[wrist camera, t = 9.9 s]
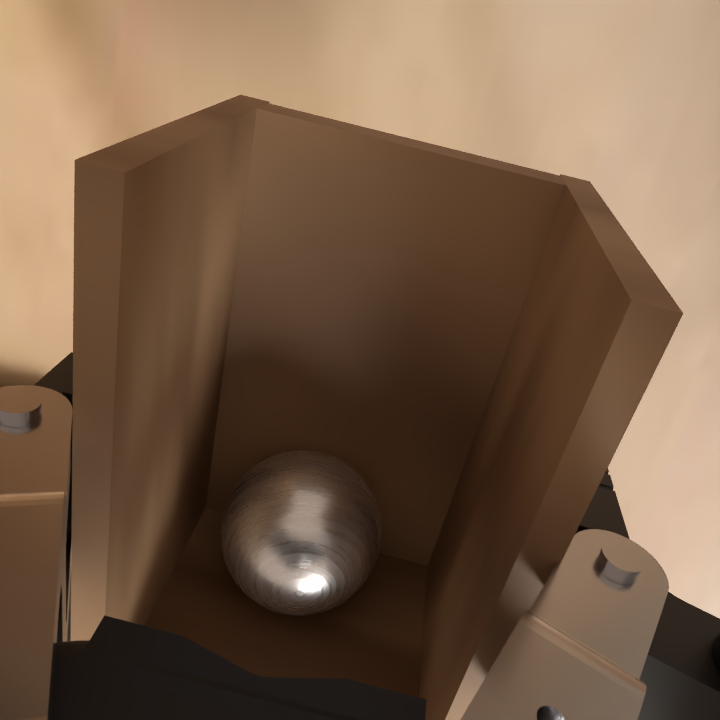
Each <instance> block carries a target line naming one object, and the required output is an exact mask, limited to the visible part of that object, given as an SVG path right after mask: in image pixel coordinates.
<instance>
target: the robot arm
mask: <svg viewBox="0 0 720 720" xmlns="http://www.w3.org/2000/svg"><path fill="white" fill-rule="evenodd" d="M72 424H73V353H72V352H71V353H70V354H69V355H68V356H67V357H65V358H64V359H63V360H62V361H61V362H60V363H59V364H58V365H56V366H55V367H54V368H53V369H52V370H51V371H50V372H48V373H47V374H46V375H45V376H44V377H43V378H42V379H41V380H39V381H38V382H37V383H36V384H35V385H13V386H5V387H1V388H0V720H425V714H426V700H425V699H421V698H418V697H414V696H410V695H406V694H402V693H399V692H395V691H391V690H387V689H383V688H380V687H376V686H372V685H368V684H364V683H360V682H357V681H353V680H349V679H329V678H282V677H261V676H258V675H255V674H252V673H250V672H248V671H246V670H245V669H243V668H241V667H239V666H237V665H235V664H234V663H232V662H230V661H228V660H226V659H224V658H223V657H221V656H219V655H217V654H215V653H213V652H212V651H210V650H208V649H206V648H204V647H202V646H201V645H199V644H197V643H195V642H193V641H191V640H189V639H188V638H186V637H184V636H181V635H178V634H174V633H170V632H166V631H162V630H158V629H155V628H151V627H147V626H143V625H139V624H136V623H132V622H128V621H124V620H120V619H117V618H113V617H109V616H105V615H104V617H103V619H102V620H101V622H100V624H99V625H98V627H97V629H96V631H95V632H94V634H93V636H92V637H91V639H90V640H78V641H67V634H68V616H69V597H70V579H71V538H72ZM608 472H609V471H608V468H607V470H606V472H605V474H604V476H603V478H602V480H601V482H600V484H599V486H598V488H597V490H596V492H595V494H594V496H593V498H592V500H591V502H590V504H589V507H588V509H587V511H586V513H585V515H584V517H583V519H582V521H581V523H580V525H579V527H578V529H577V531H576V533H575V535H574V537H573V539H572V541H571V543H570V545H569V547H568V549H567V551H566V553H565V556H564V558H563V560H562V562H560V561H558V562H557V564H556V566H555V567H554V569H553V571H552V572H551V574H550V576H549V577H548V579H547V581H546V583H545V584H544V586H543V588H542V589H541V591H540V593H539V595H538V596H537V598H536V600H535V601H534V603H533V605H532V607H531V608H530V610H529V611H528V610H526V611H525V612H524V614H523V615H522V617H521V619H520V620H519V622H518V624H517V625H516V627H515V629H514V630H513V632H512V634H511V635H510V637H509V639H508V640H507V642H506V644H505V645H504V647H503V649H502V650H501V652H500V654H499V656H498V657H497V659H496V661H495V662H494V664H493V666H492V667H491V669H490V671H489V672H488V674H487V676H486V677H485V679H484V681H483V683H482V684H481V686H480V688H479V689H478V691H477V693H476V694H475V696H474V698H473V699H472V701H471V703H470V704H469V706H468V708H467V709H466V711H465V713H464V715H463V716H462V718H461V720H720V619H719V618H717V617H715V616H713V615H711V614H709V613H707V612H705V611H703V610H701V609H699V608H697V607H695V606H693V605H690V604H688V603H686V602H685V601H683V600H681V599H679V598H677V597H676V596H674V595H673V594H671V593H669V592H668V589H669V585H668V579H667V576H666V574H665V572H664V570H663V568H662V567H661V566H660V564H659V563H658V562H657V561H656V559H655V558H654V557H653V556H652V555H651V554H650V553H648V552H647V551H646V550H645V549H644V548H642V547H641V546H639V545H638V544H637V543H635V542H633V541H632V540H630V539H629V536H628V533H627V529H626V526H625V523H624V520H623V516H622V513H621V510H620V507H619V503H618V500H617V497H616V493H615V491H613V484H612V480H611V477H610V475H608Z"/></svg>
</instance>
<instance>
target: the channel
mask: <svg viewBox="0 0 720 720" xmlns="http://www.w3.org/2000/svg"><path fill="white" fill-rule="evenodd" d="M682 315H683V312H682V311H681V310H680V308H679V307H678V305H677V304H676V303H675V301H674V300H673V298H672V297H671V295H670V294H669V293H668V291H667V290H666V288H665V287H664V286H663V284H662V283H661V281H660V280H659V279H658V277H657V276H656V274H655V273H654V271H653V270H652V269H651V267H650V266H649V264H648V263H647V262H646V260H645V259H644V257H643V256H642V255H641V253H640V252H639V250H638V249H637V247H636V246H635V245H634V243H633V242H632V240H631V239H630V238H629V236H628V235H627V233H626V232H625V230H624V229H623V228H622V226H621V225H620V223H619V222H618V221H617V219H616V218H615V216H614V215H613V214H612V212H611V211H610V209H609V208H608V206H607V205H606V204H605V202H604V201H603V199H602V198H601V197H600V195H599V194H598V192H597V191H596V190H595V188H594V187H593V185H592V184H591V182H589V181H585V180H581V179H577V178H573V177H569V176H565V175H561V174H560V176H558V175H554V174H550V173H546V172H542V171H538V170H534V169H530V168H526V167H522V166H518V165H514V164H510V163H506V162H502V161H498V160H494V159H490V158H486V157H482V156H478V155H474V154H470V153H466V152H462V151H458V150H454V149H450V148H446V147H441V146H437V145H433V144H429V143H425V142H421V141H417V140H413V139H409V138H405V137H401V136H397V135H393V134H389V133H385V132H381V131H377V130H373V129H369V128H365V127H361V126H357V125H353V124H349V123H345V122H341V121H337V120H333V119H329V118H325V117H321V116H317V115H313V114H309V113H305V112H301V111H297V110H293V109H289V108H285V107H281V106H277V105H273V104H269V102H267V101H263V100H259V99H255V98H251V97H247V96H243V95H239V96H236V97H234V98H231V99H229V100H226V101H224V102H221V103H218V104H216V105H213V106H211V107H208V108H206V109H203V110H201V111H198V112H196V113H193V114H190V115H188V116H185V117H183V118H180V119H178V120H175V121H173V122H170V123H168V124H165V125H163V126H160V127H157V128H155V129H152V130H150V131H147V132H145V133H142V134H140V135H137V136H135V137H132V138H129V139H127V140H124V141H122V142H119V143H117V144H114V145H112V146H109V147H107V148H104V149H102V150H99V151H96V152H94V153H91V154H89V155H86V156H84V157H81V158H79V159H76V160H75V197H74V310H73V424H72V538H71V641H78V640H90V639H91V637H92V636H93V634H94V632H95V631H96V629H97V627H98V625H99V624H100V622H101V620H102V619H103V617H104V615H105V616H109V617H113V618H117V619H120V620H124V621H128V622H132V623H136V624H139V625H143V626H147V627H151V628H155V629H158V630H162V631H166V632H170V633H174V634H178V635H181V636H184V637H186V638H188V639H189V640H191V641H193V642H195V643H197V644H199V645H201V646H202V647H204V648H206V649H208V650H210V651H212V652H213V653H215V654H217V655H219V656H221V657H223V658H224V659H226V660H228V661H230V662H232V663H234V664H235V665H237V666H239V667H241V668H243V669H245V670H246V671H248V672H250V673H252V674H255V675H258V676H261V677H282V678H329V679H349V680H353V681H357V682H360V683H364V684H368V685H372V686H376V687H380V688H383V689H387V690H391V691H395V692H399V693H402V694H406V695H410V696H414V697H418V698H421V699H425V700H426V714H425V720H461V718H462V716H463V715H464V713H465V711H466V709H467V708H468V706H469V704H470V703H471V701H472V699H473V698H474V696H475V694H476V693H477V691H478V689H479V688H480V686H481V684H482V683H483V681H484V679H485V677H486V676H487V674H488V672H489V671H490V669H491V667H492V666H493V664H494V662H495V661H496V659H497V657H498V656H499V654H500V652H501V650H502V649H503V647H504V645H505V644H506V642H507V640H508V639H509V637H510V635H511V634H512V632H513V630H514V629H515V627H516V625H517V624H518V622H519V620H520V619H521V617H522V615H523V614H524V612H525V611H526V610H528V611H529V610H530V608H531V607H532V605H533V603H534V601H535V600H536V598H537V596H538V595H539V593H540V591H541V589H542V588H543V586H544V584H545V583H546V581H547V579H548V577H549V576H550V574H551V572H552V571H553V569H554V567H555V566H556V564H557V562H558V561H560V562H562V560H563V558H564V556H565V553H566V551H567V549H568V547H569V545H570V543H571V541H572V539H573V537H574V535H575V533H576V531H577V529H578V527H579V525H580V523H581V521H582V519H583V517H584V515H585V513H586V511H587V509H588V507H589V504H590V502H591V500H592V498H593V496H594V494H595V492H596V490H597V488H598V486H599V484H600V482H601V480H602V478H603V476H604V474H605V472H606V470H607V468H608V466H609V464H610V462H611V460H612V458H613V456H614V453H615V451H616V449H617V447H618V445H619V443H620V441H621V439H622V437H623V435H624V433H625V431H626V429H627V427H628V425H629V423H630V421H631V419H632V417H633V415H634V413H635V411H636V409H637V407H638V404H639V402H640V400H641V398H642V396H643V394H644V392H645V390H646V388H647V386H648V384H649V382H650V380H651V378H652V376H653V374H654V372H655V370H656V368H657V366H658V364H659V362H660V360H661V358H662V356H663V353H664V351H665V349H666V347H667V345H668V343H669V341H670V339H671V337H672V335H673V333H674V331H675V329H676V327H677V325H678V323H679V321H680V319H681V317H682ZM294 450H311V451H318V452H322V453H326V454H328V455H331V456H334V457H336V458H338V459H340V460H342V461H344V462H345V463H346V464H348V465H349V466H351V467H352V468H353V469H354V470H355V471H356V472H357V473H358V474H359V475H360V476H361V477H362V478H363V479H364V480H365V482H366V483H367V485H368V486H369V488H370V489H371V491H372V493H373V495H374V498H375V500H376V502H377V505H378V508H379V513H380V517H381V527H382V538H381V545H380V551H379V554H378V557H377V560H376V563H375V566H374V568H373V570H372V572H371V574H370V575H369V577H368V578H367V580H366V581H365V583H364V584H363V585H362V586H361V587H360V589H359V590H358V591H357V592H356V593H355V594H354V595H353V596H351V597H350V598H349V599H348V600H346V601H345V602H343V603H342V604H340V605H338V606H337V607H335V608H333V609H330V610H328V611H325V612H321V613H318V614H313V615H305V616H293V615H286V614H281V613H278V612H274V611H271V610H269V609H267V608H264V607H263V606H261V605H259V604H258V603H256V602H255V601H253V600H252V599H251V598H249V597H248V596H247V595H246V594H245V593H244V592H243V591H242V590H241V588H240V587H239V586H238V585H237V584H236V582H235V581H234V579H233V578H232V576H231V574H230V572H229V570H228V568H227V566H226V563H225V560H224V557H223V552H222V548H221V522H222V516H223V513H224V509H225V506H226V503H227V501H228V499H229V497H230V495H231V493H232V491H233V489H234V488H235V486H236V485H237V484H238V482H239V481H240V480H241V479H242V477H243V476H244V475H245V474H246V473H247V472H248V471H249V470H251V469H252V468H253V467H255V466H256V465H257V464H259V463H260V462H262V461H264V460H265V459H267V458H270V457H272V456H274V455H277V454H280V453H284V452H288V451H294Z"/></svg>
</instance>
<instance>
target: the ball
mask: <svg viewBox="0 0 720 720" xmlns="http://www.w3.org/2000/svg"><path fill="white" fill-rule="evenodd" d="M381 538H382V527H381V517H380V513H379V508H378V505H377V502H376V500H375V498H374V495H373V493H372V491H371V489H370V488H369V486H368V485H367V483H366V482H365V480H364V479H363V478H362V477H361V476H360V475H359V474H358V473H357V472H356V471H355V470H354V469H353V468H352V467H351V466H349V465H348V464H346V463H345V462H344V461H342V460H340V459H338V458H336V457H334V456H331V455H328V454H326V453H322V452H318V451H311V450H294V451H288V452H284V453H280V454H277V455H274V456H272V457H270V458H267V459H265V460H264V461H262V462H260V463H259V464H257V465H256V466H255V467H253V468H252V469H251V470H249V471H248V472H247V473H246V474H245V475H244V476H243V477H242V479H241V480H240V481H239V482H238V484H237V485H236V486H235V488H234V489H233V491H232V493H231V495H230V497H229V499H228V501H227V503H226V506H225V509H224V513H223V516H222V522H221V548H222V552H223V557H224V560H225V563H226V566H227V568H228V570H229V572H230V574H231V576H232V578H233V579H234V581H235V582H236V584H237V585H238V586H239V587H240V588H241V590H242V591H243V592H244V593H245V594H246V595H247V596H248V597H249V598H251V599H252V600H253V601H255V602H256V603H258V604H259V605H261V606H263V607H264V608H267V609H269V610H271V611H274V612H278V613H281V614H286V615H293V616H305V615H313V614H318V613H321V612H325V611H328V610H330V609H333V608H335V607H337V606H338V605H340V604H342V603H343V602H345V601H346V600H348V599H349V598H350V597H351V596H353V595H354V594H355V593H356V592H357V591H358V590H359V589H360V587H361V586H362V585H363V584H364V583H365V581H366V580H367V578H368V577H369V575H370V574H371V572H372V570H373V568H374V566H375V563H376V560H377V557H378V554H379V551H380V545H381Z"/></svg>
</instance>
